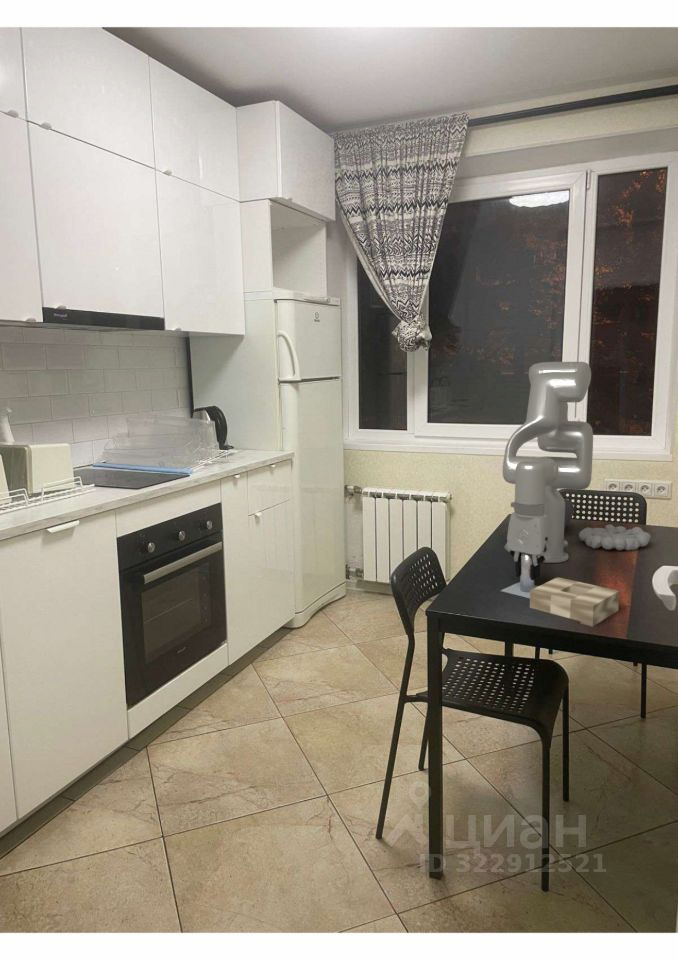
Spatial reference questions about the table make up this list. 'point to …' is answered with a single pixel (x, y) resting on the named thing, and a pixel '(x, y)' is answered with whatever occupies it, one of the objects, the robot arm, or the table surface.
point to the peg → (526, 573)
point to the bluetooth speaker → (568, 511)
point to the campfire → (615, 537)
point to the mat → (517, 590)
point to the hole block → (575, 600)
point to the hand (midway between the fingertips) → (527, 576)
